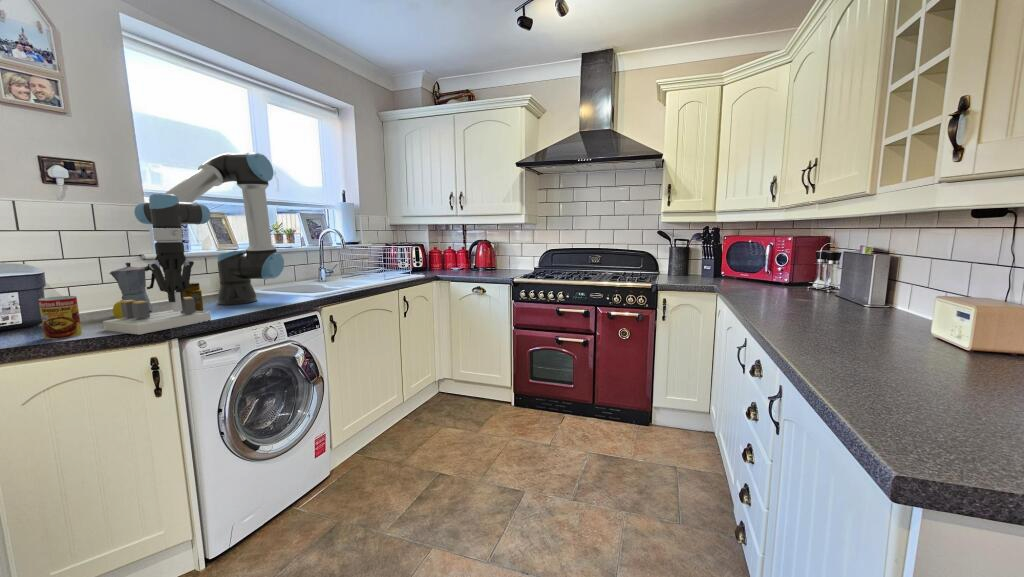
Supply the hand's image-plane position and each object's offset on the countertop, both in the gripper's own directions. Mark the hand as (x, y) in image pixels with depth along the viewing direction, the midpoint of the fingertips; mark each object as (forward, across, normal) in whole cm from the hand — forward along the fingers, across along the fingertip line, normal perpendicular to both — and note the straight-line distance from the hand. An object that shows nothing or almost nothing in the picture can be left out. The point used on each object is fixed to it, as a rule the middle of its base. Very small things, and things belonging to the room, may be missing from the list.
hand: (177, 311), depth 142 cm
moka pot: (+5, +10, +41) cm, 42 cm away
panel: (+5, -2, +6) cm, 8 cm away
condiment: (+5, +15, +16) cm, 22 cm away
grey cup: (+1, -7, +6) cm, 9 cm away
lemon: (+5, -3, +24) cm, 25 cm away
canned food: (+5, -22, +17) cm, 28 cm away
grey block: (+1, +3, 0) cm, 4 cm away
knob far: (+1, -7, +12) cm, 14 cm away
